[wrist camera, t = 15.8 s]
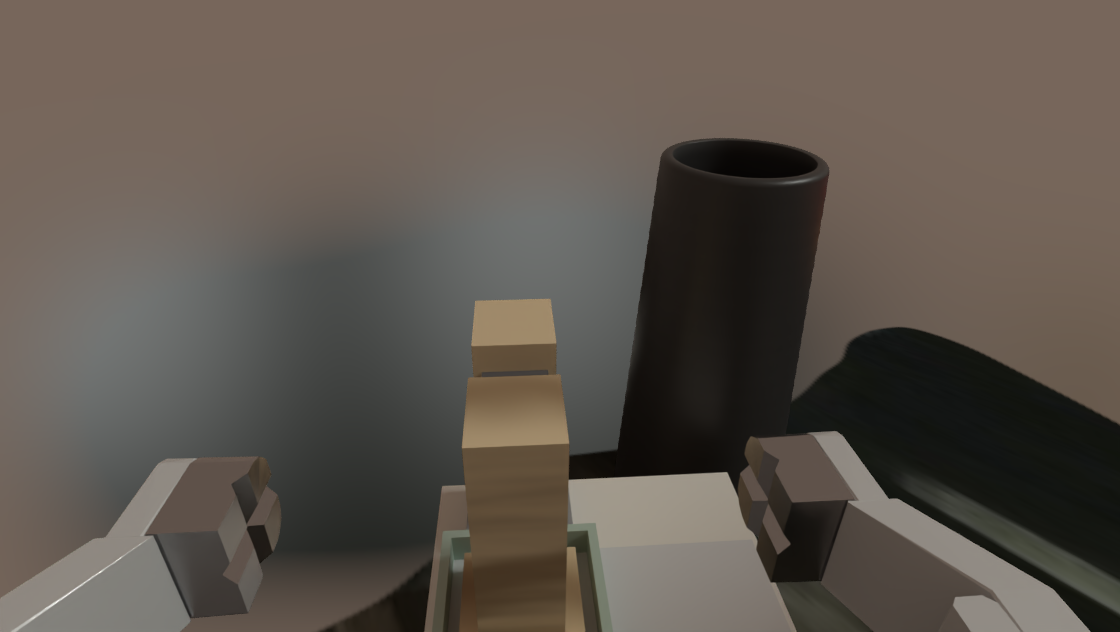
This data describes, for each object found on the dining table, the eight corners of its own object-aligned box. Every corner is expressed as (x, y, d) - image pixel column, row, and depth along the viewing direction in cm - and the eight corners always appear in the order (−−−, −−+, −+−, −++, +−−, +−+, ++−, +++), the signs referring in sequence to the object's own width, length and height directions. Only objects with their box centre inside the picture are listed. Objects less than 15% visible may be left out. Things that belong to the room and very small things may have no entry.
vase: (729, 425, 61) (784, 128, 47) (804, 532, 50) (907, 182, 35) (596, 443, 59) (612, 135, 44) (643, 561, 47) (684, 196, 33)
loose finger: (587, 671, 29) (598, 456, 23) (459, 680, 29) (432, 463, 22) (574, 565, 34) (581, 364, 28) (466, 571, 34) (446, 368, 27)
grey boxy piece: (786, 806, 34) (917, 480, 22) (432, 837, 32) (365, 507, 20) (708, 570, 47) (762, 286, 35) (453, 586, 45) (420, 295, 33)
